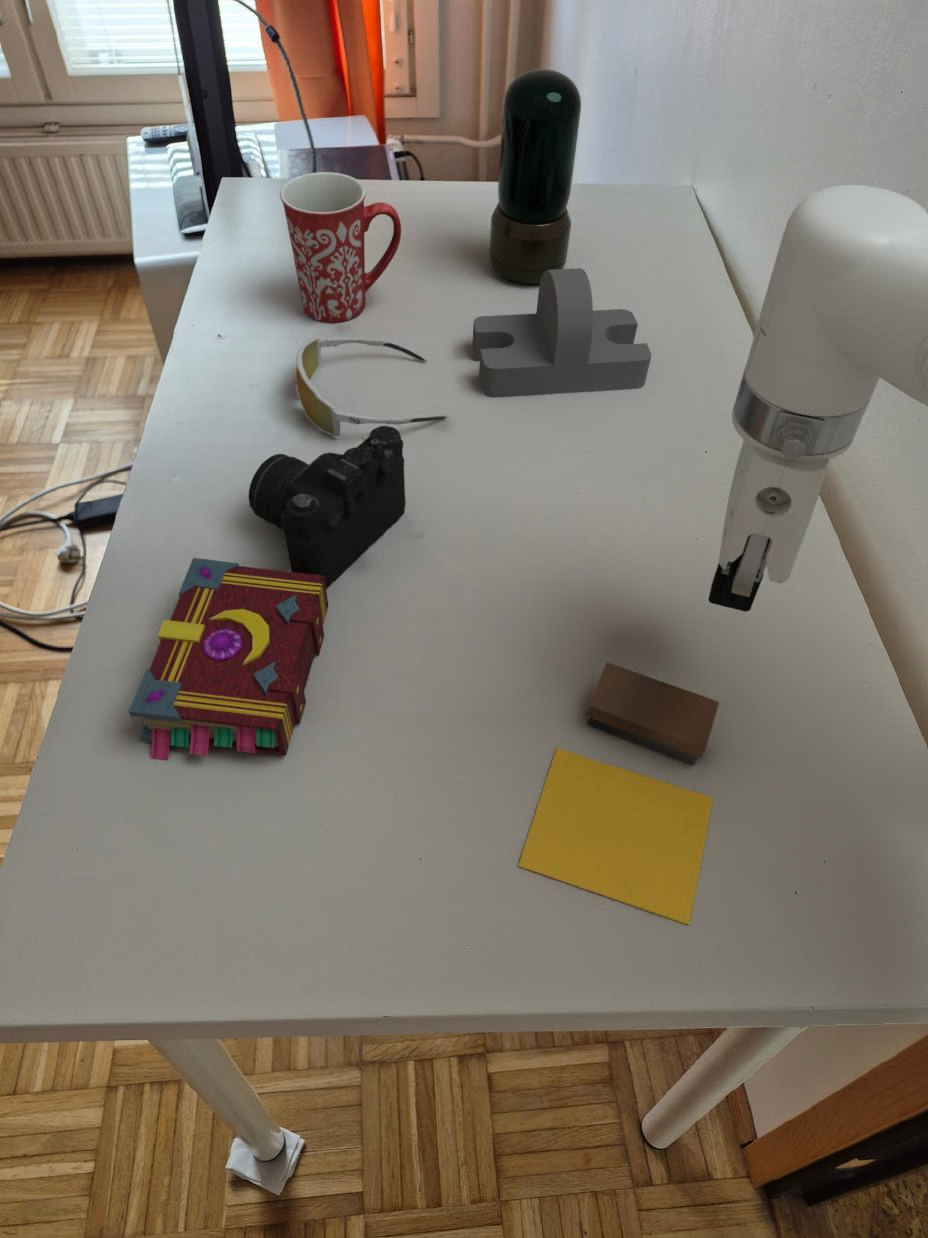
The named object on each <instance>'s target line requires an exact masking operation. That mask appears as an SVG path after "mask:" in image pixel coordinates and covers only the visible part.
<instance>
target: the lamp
mask: <svg viewBox="0 0 928 1238" xmlns="http://www.w3.org/2000/svg"><path fill="white" fill-rule="evenodd" d="M504 93H505V94H504V96H503V102H502V113H501V129H500V145H499V146H500V148H499V161H498V178H497V197H498V203H497V204H496V206H495V208H494V210H493V212H492V213H491V217H490V231H489V246H488V247H489V249H488V258H489V262H490V265H491V267H492V268H493V270H494V271H495V272H496V273H497V274H498V275H499V276H500V277H502V278H504V279H506V280H509V281H510V282H514V283H519V284H524V285H536V284H540V282H541V278H542V275H543V273H544V271H546V270H555V269H565V266H566V263H567V258H568V252H569V251H568V250H569V243H570V235H571V228H572V220H571V216H570V213H569V210H568V207H567V206H568V204H569V200H570V196H571V191H572V182H573V175H574V166H575V159H576V150H577V144H578V137H579V128H580V119H581V112H582V97H581V94H580V91H579V88H578V87H577V85H576V84H575V82H574V81H573V80H572V79H571V78H570V77H568V76H567V75H566V74H563V73H562V72H560V71H557V70H553V69H549V68H547V69H546V68H537V69H531V70H527V71H524V72H523V73H521V74H519V75H518V76H516V77H515V78H514V79H513V80H512V81H511V82H510V83H509V85H508V86H507V88H506V90H505V92H504Z"/></svg>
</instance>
